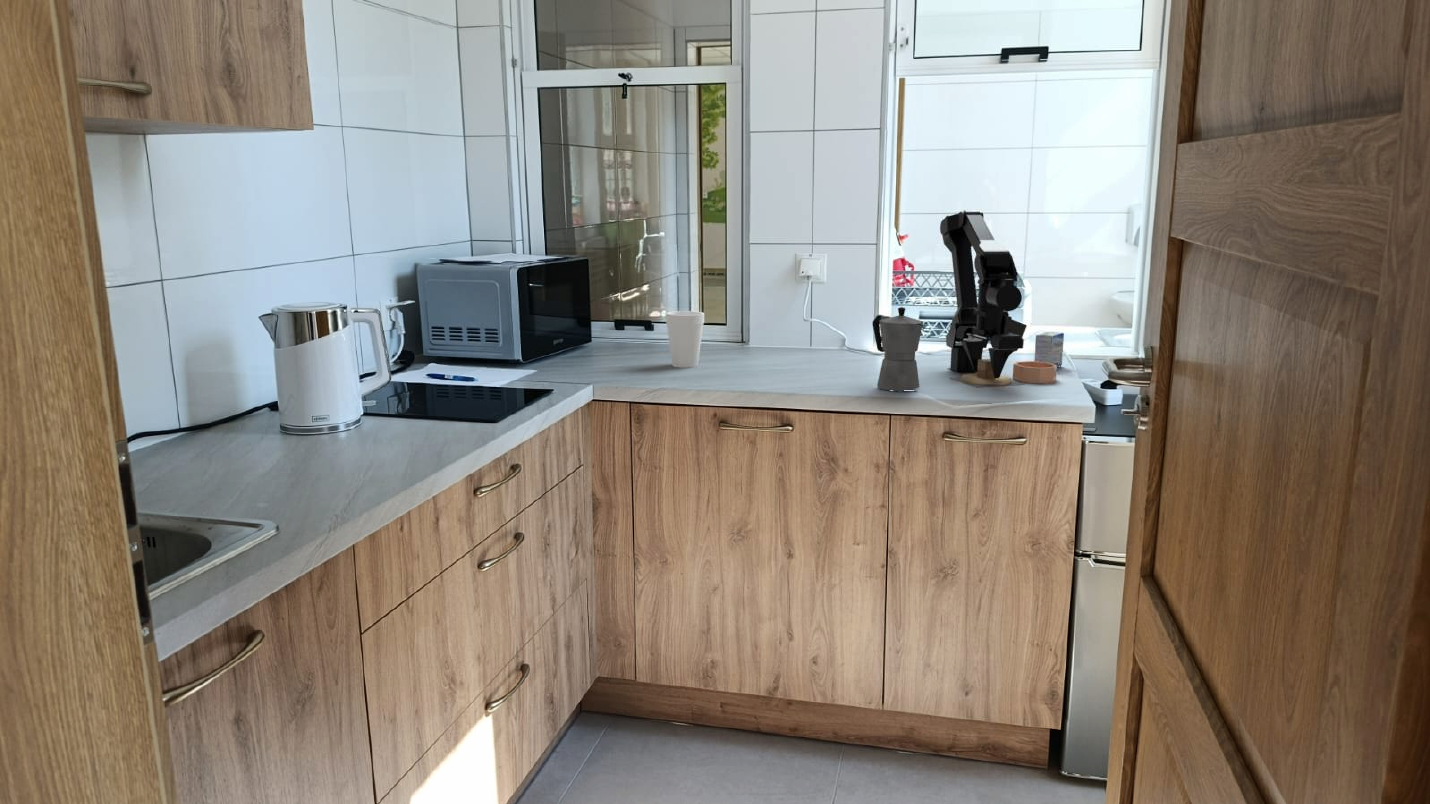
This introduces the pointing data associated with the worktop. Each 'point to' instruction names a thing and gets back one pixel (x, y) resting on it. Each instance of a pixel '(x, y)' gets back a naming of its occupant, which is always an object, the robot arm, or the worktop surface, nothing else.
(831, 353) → the worktop surface
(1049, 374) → the bowl
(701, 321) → the foam cup
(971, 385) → the mat
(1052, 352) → the medicine box
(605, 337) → the worktop surface
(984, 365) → the lid
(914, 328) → the coffeepot
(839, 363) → the worktop surface
